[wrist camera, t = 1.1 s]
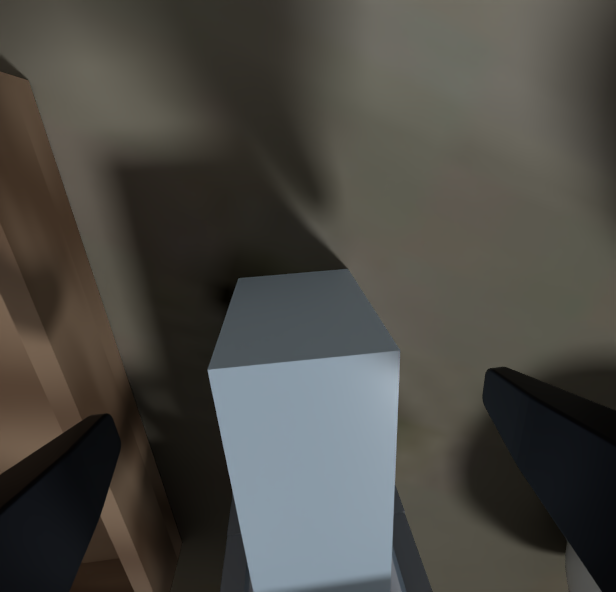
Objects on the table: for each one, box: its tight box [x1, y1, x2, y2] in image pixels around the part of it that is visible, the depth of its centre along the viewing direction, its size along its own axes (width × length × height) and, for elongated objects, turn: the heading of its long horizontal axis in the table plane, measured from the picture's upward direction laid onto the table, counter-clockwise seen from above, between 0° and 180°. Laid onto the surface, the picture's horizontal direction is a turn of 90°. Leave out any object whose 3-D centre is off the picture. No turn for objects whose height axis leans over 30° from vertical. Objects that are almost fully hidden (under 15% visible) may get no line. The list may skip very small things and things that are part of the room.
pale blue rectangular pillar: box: [208, 269, 400, 592], centre depth 12 cm, size 14×4×6 cm, turn 4°
